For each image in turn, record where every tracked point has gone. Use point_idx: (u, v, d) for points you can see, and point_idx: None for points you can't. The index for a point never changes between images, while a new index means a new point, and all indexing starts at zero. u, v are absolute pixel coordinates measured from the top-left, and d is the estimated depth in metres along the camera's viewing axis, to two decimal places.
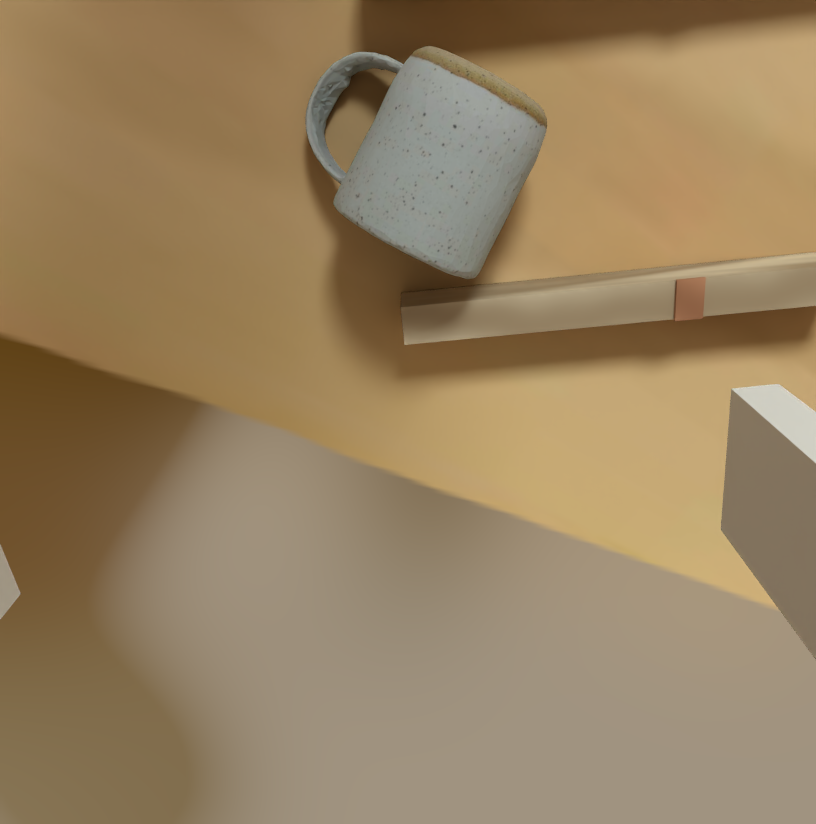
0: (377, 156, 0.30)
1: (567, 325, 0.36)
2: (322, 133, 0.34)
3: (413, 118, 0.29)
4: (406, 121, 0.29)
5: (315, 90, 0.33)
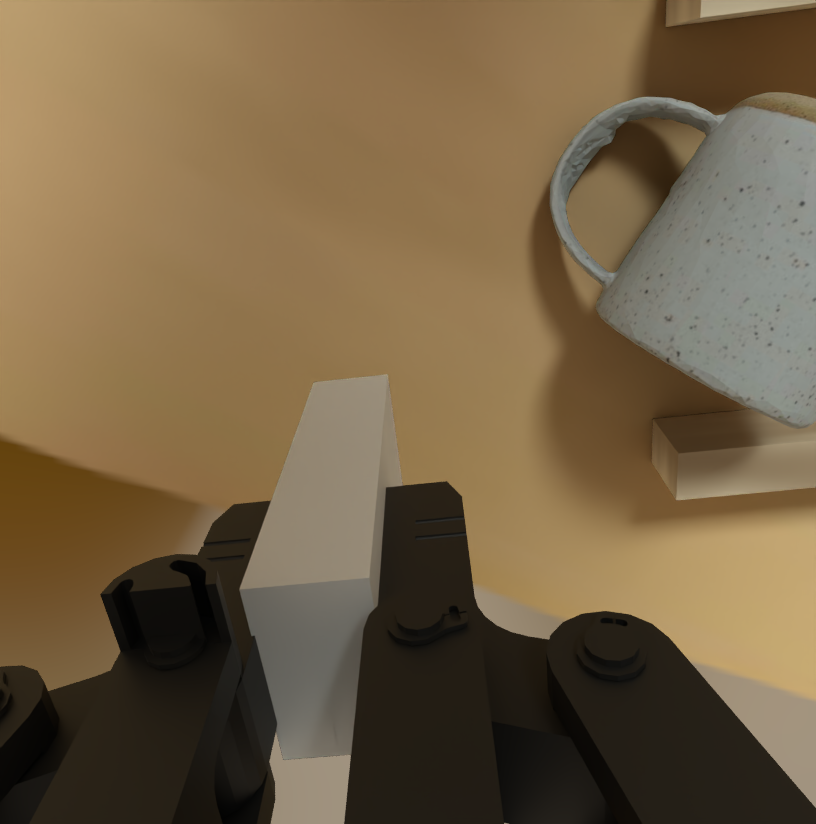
0: (705, 262, 0.20)
1: None
2: None
3: (780, 208, 0.19)
4: (766, 212, 0.19)
5: (569, 151, 0.23)
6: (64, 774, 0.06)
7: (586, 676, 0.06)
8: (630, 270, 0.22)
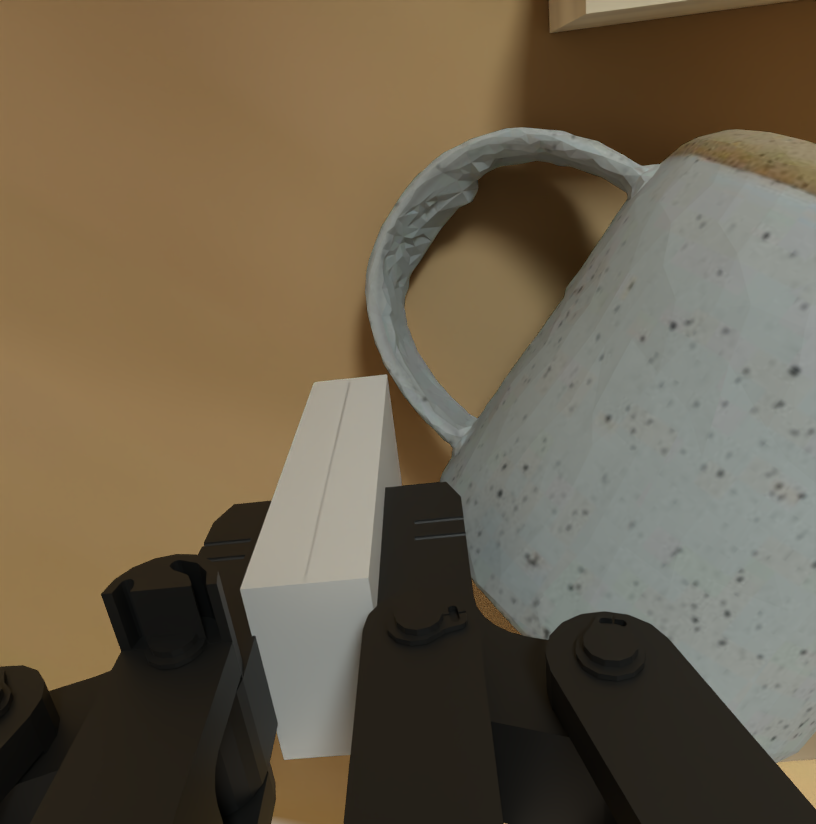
0: (602, 460, 0.10)
1: None
2: (401, 306, 0.14)
3: (748, 374, 0.09)
4: (720, 380, 0.09)
5: (394, 216, 0.13)
6: (65, 774, 0.06)
7: (585, 676, 0.06)
8: (484, 437, 0.12)
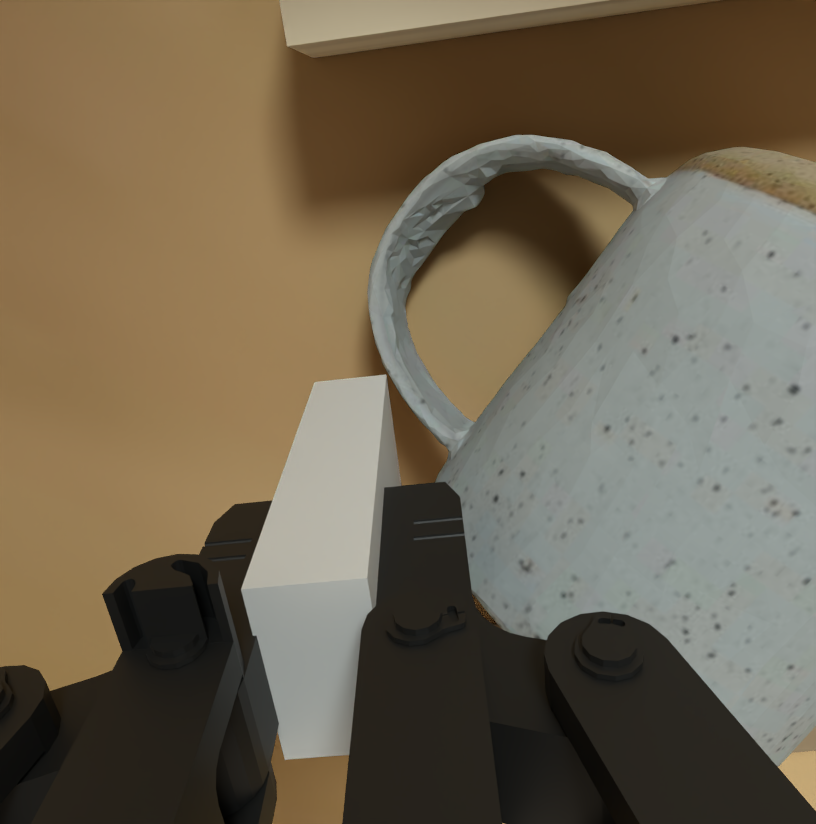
0: (599, 470, 0.10)
1: None
2: (402, 307, 0.14)
3: (748, 391, 0.09)
4: (720, 395, 0.09)
5: (399, 217, 0.13)
6: (66, 774, 0.06)
7: (584, 676, 0.06)
8: (481, 442, 0.12)
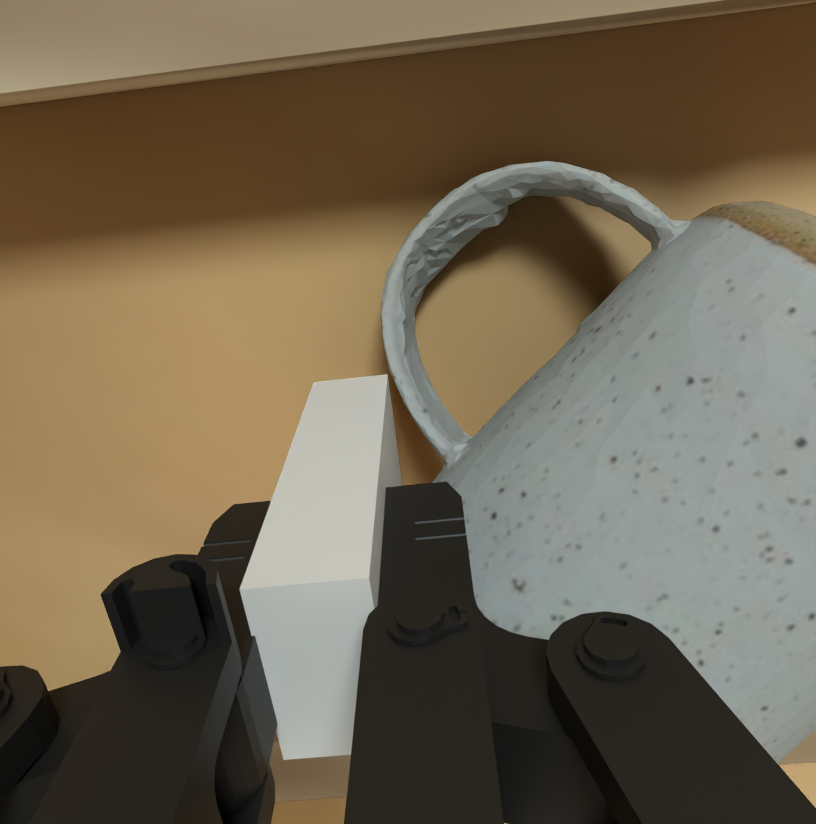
0: (602, 499, 0.10)
1: None
2: (412, 315, 0.15)
3: (756, 439, 0.09)
4: (729, 440, 0.09)
5: (423, 226, 0.13)
6: (64, 774, 0.06)
7: (586, 676, 0.06)
8: (482, 458, 0.12)
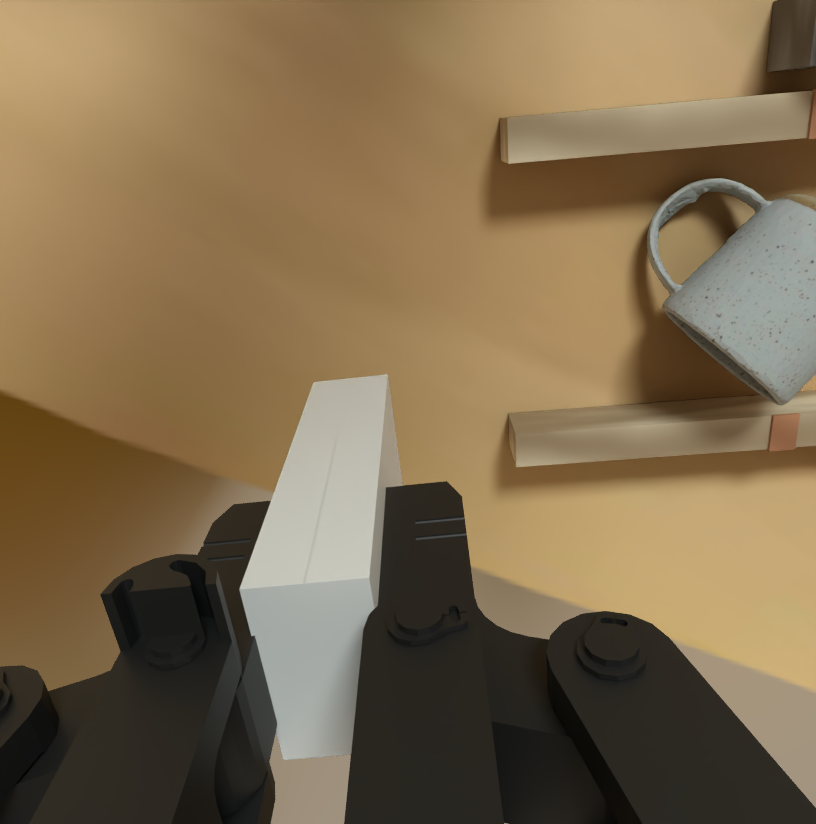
0: (748, 285, 0.32)
1: (669, 452, 0.39)
2: None
3: (798, 262, 0.31)
4: (790, 262, 0.31)
5: (669, 201, 0.35)
6: (64, 774, 0.06)
7: (586, 676, 0.06)
8: (695, 283, 0.34)
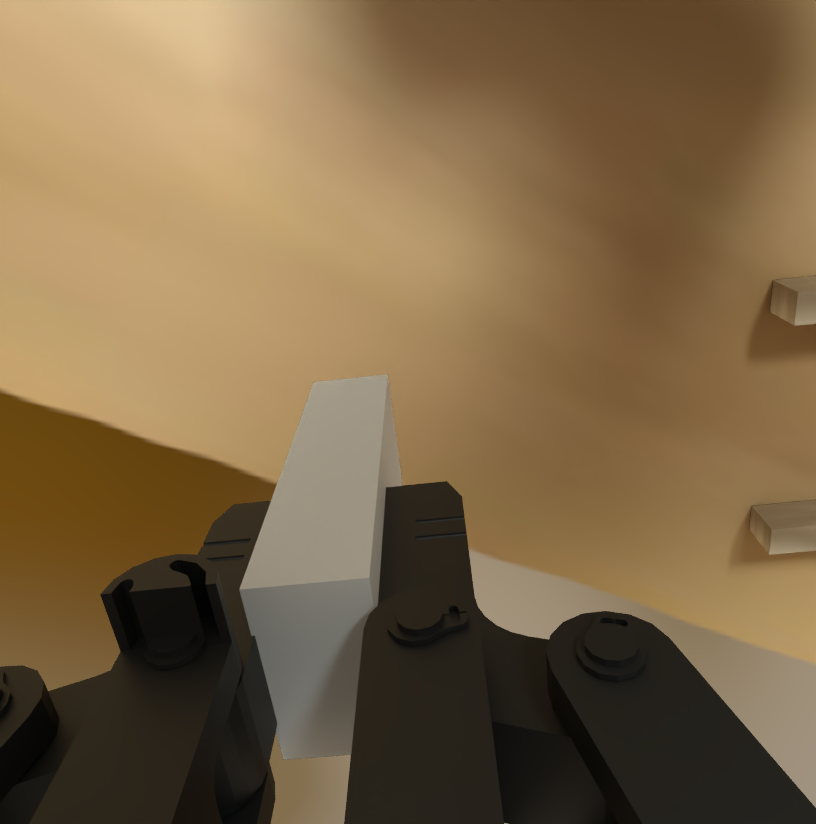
0: None
1: None
2: None
3: None
4: None
5: None
6: (64, 774, 0.06)
7: (586, 676, 0.06)
8: None
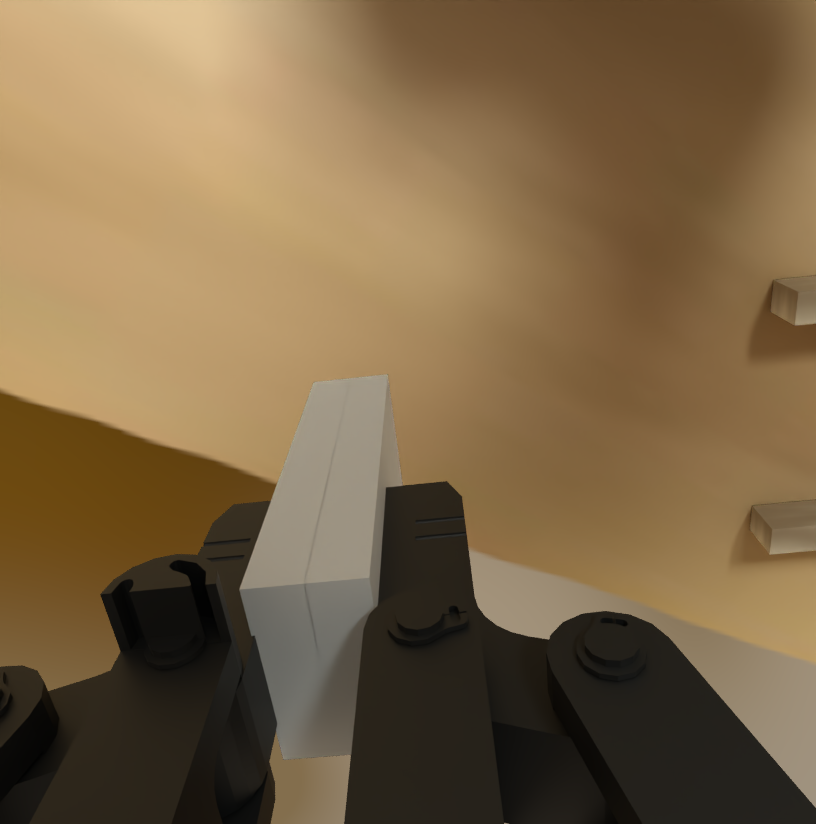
0: None
1: None
2: None
3: None
4: None
5: None
6: (64, 774, 0.06)
7: (586, 676, 0.06)
8: None
